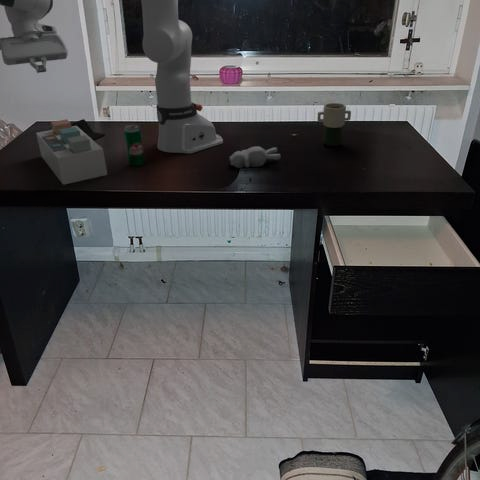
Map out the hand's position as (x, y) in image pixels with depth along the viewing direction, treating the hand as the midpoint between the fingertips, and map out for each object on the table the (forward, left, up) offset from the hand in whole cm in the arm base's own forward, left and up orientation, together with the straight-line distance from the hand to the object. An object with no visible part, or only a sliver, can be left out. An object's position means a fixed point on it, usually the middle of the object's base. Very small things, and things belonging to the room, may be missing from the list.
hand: (41, 71), depth 160 cm
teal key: (0, +23, -18) cm, 30 cm away
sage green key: (0, +33, -18) cm, 38 cm away
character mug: (-77, +55, -25) cm, 98 cm away
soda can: (-16, +34, -25) cm, 45 cm away
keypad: (+1, +23, -25) cm, 34 cm away
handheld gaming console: (-10, -1, -25) cm, 27 cm away
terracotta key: (0, +13, -18) cm, 23 cm away
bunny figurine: (-46, +55, -25) cm, 76 cm away
